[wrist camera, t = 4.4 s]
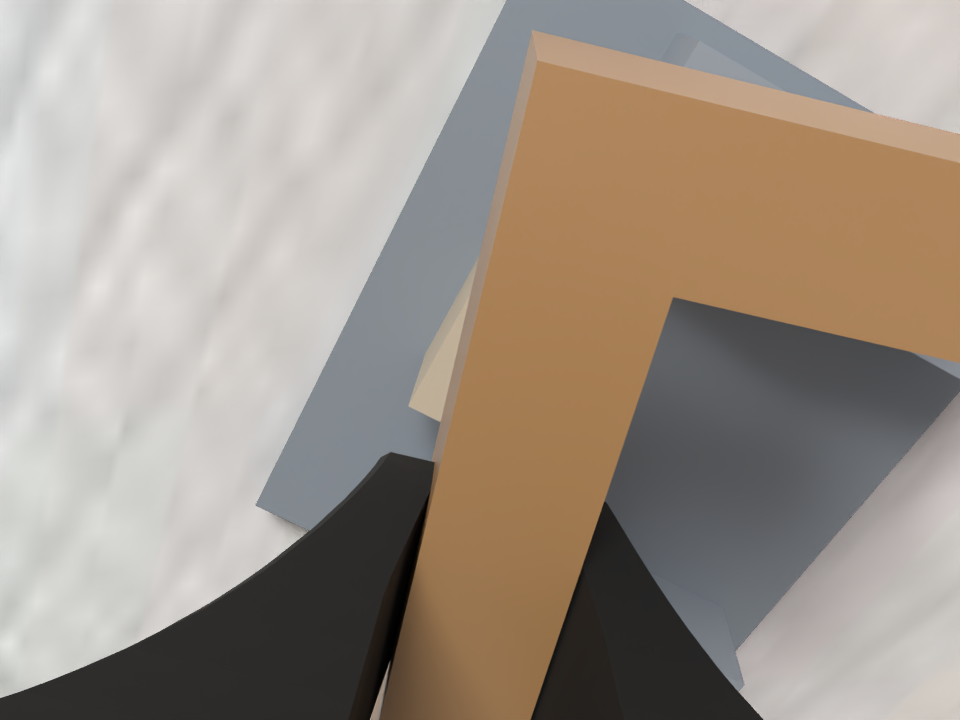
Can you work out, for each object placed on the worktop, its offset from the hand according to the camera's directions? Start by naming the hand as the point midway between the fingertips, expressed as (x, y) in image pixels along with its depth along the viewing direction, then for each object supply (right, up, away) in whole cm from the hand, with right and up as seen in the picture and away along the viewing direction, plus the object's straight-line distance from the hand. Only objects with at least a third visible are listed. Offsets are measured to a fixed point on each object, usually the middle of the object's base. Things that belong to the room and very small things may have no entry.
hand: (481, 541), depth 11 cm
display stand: (+3, +2, +8) cm, 9 cm away
